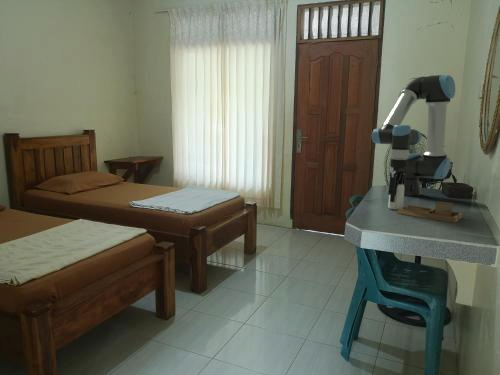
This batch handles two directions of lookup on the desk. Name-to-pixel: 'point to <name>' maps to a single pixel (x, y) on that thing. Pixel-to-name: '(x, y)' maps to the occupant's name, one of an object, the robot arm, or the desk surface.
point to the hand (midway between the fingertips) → (395, 207)
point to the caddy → (428, 213)
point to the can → (399, 196)
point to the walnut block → (444, 208)
